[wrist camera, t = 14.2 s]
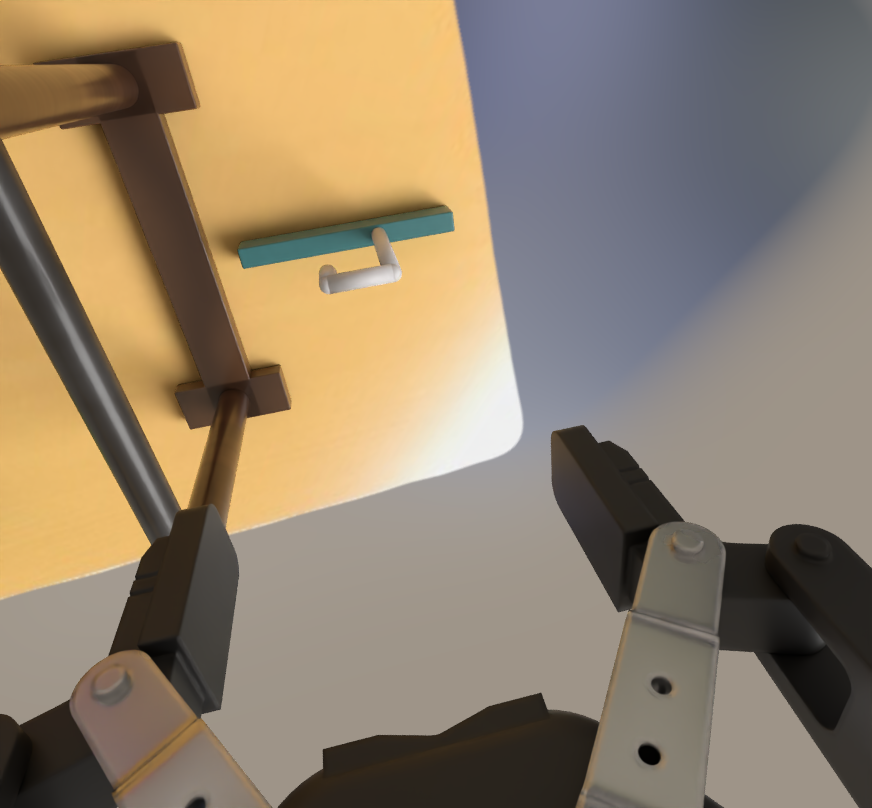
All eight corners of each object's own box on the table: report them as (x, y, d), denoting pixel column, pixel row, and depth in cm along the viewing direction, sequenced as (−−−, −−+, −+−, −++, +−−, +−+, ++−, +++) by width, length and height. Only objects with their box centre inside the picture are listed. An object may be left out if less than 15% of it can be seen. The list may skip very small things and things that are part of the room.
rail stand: (193, 420, 41) (107, 671, 24) (41, 62, 29) (-329, 65, 12) (291, 401, 41) (275, 632, 25) (181, 42, 30) (8, 19, 13)
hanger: (245, 260, 36) (225, 319, 28) (240, 241, 35) (217, 295, 27) (449, 224, 37) (487, 270, 29) (447, 205, 36) (484, 246, 28)
